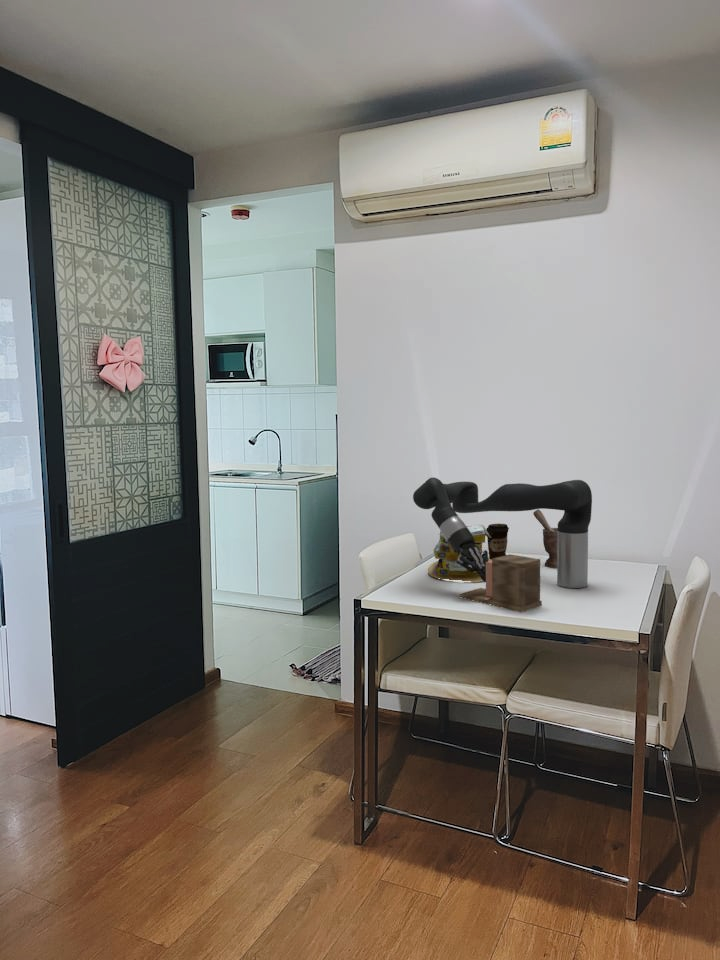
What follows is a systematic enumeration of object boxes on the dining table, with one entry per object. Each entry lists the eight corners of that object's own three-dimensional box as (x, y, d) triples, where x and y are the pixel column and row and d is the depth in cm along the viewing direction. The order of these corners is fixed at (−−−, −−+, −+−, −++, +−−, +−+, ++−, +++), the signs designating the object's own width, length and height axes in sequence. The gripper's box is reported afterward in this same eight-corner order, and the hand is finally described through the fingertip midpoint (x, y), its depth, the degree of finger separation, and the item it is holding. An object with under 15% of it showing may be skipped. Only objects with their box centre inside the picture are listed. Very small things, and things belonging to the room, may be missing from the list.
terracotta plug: (485, 595, 214) (485, 562, 213) (496, 592, 217) (496, 559, 216) (499, 598, 210) (499, 564, 209) (510, 595, 213) (510, 561, 212)
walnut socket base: (459, 597, 218) (459, 553, 217) (480, 591, 224) (480, 548, 223) (520, 612, 202) (520, 564, 200) (541, 605, 208) (541, 558, 207)
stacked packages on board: (492, 585, 232) (492, 533, 230) (418, 579, 242) (418, 530, 240) (508, 569, 255) (508, 522, 253) (440, 564, 264) (439, 519, 263)
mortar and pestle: (537, 568, 254) (537, 512, 252) (531, 563, 262) (531, 508, 260) (570, 568, 254) (570, 511, 252) (564, 562, 262) (564, 508, 260)
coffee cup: (513, 560, 268) (513, 525, 266) (491, 562, 266) (491, 527, 265) (503, 556, 276) (503, 522, 275) (482, 557, 274) (482, 523, 273)
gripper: (464, 538, 229) (495, 583, 221) (435, 544, 221) (466, 591, 213) (477, 524, 225) (509, 569, 217) (449, 529, 216) (481, 577, 208)
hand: (488, 580), depth 215 cm, fingers closed
